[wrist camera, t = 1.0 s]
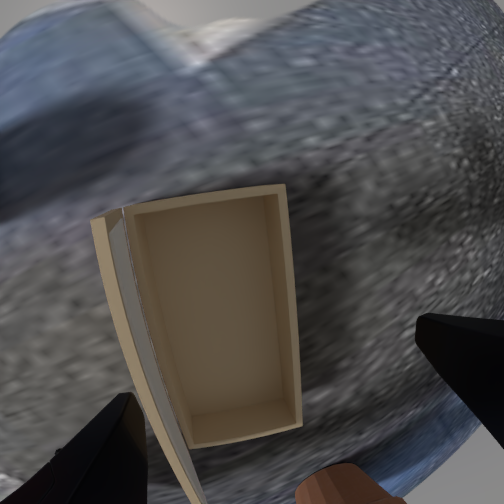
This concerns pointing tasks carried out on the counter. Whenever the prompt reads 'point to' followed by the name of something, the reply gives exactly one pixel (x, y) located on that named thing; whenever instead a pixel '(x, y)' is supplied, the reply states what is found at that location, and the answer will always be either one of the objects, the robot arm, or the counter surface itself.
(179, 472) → the lid
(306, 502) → the potted plant
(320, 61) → the counter surface
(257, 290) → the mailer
